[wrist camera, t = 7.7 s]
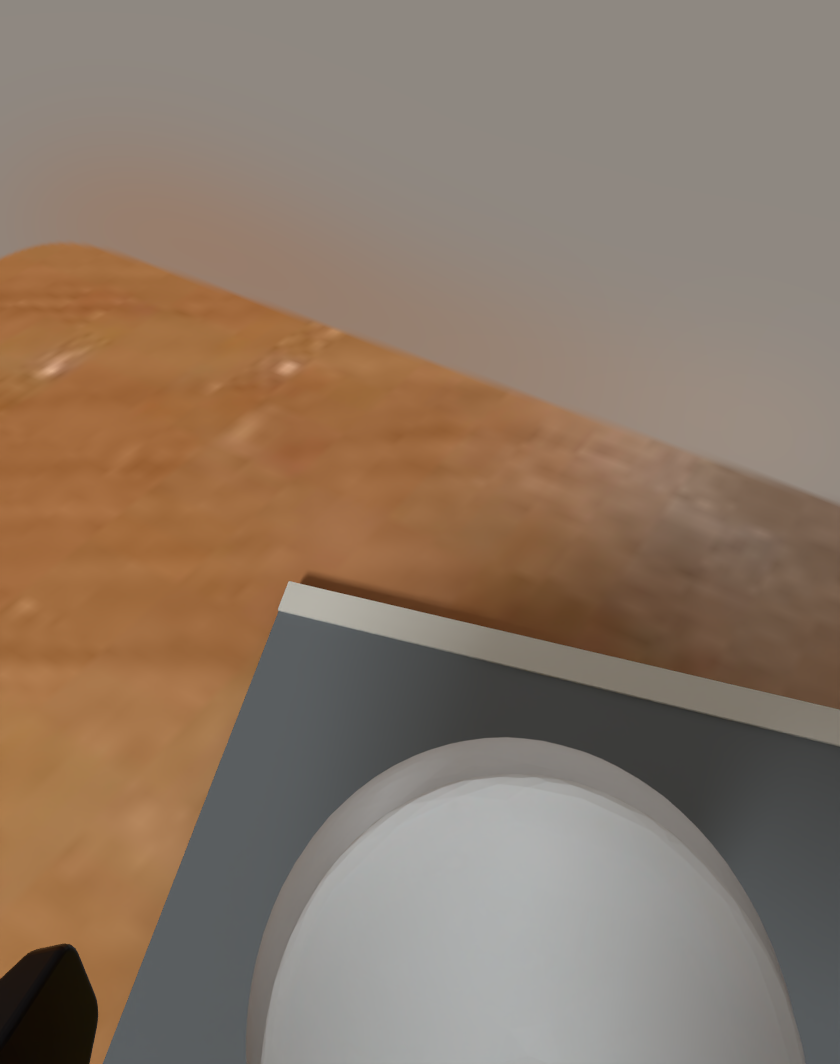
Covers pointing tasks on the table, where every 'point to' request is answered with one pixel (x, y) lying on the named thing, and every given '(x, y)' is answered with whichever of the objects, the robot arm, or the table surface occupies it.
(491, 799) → the supplement bottle
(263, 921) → the mat
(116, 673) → the table surface
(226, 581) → the table surface
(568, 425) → the table surface
